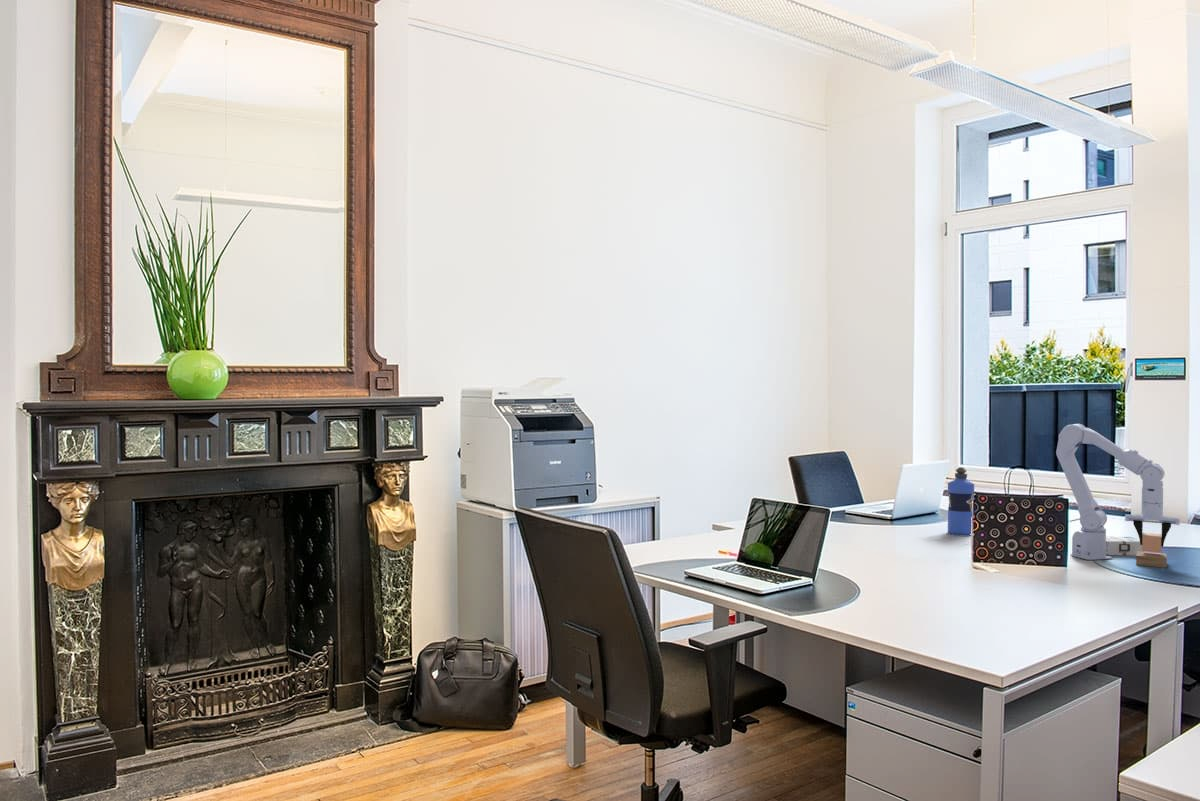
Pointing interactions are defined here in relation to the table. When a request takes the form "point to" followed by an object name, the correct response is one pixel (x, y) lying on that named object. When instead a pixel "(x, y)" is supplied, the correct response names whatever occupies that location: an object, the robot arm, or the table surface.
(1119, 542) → the ink box
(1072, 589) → the table surface
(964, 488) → the water bottle
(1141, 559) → the walnut slab
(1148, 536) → the terracotta cube
